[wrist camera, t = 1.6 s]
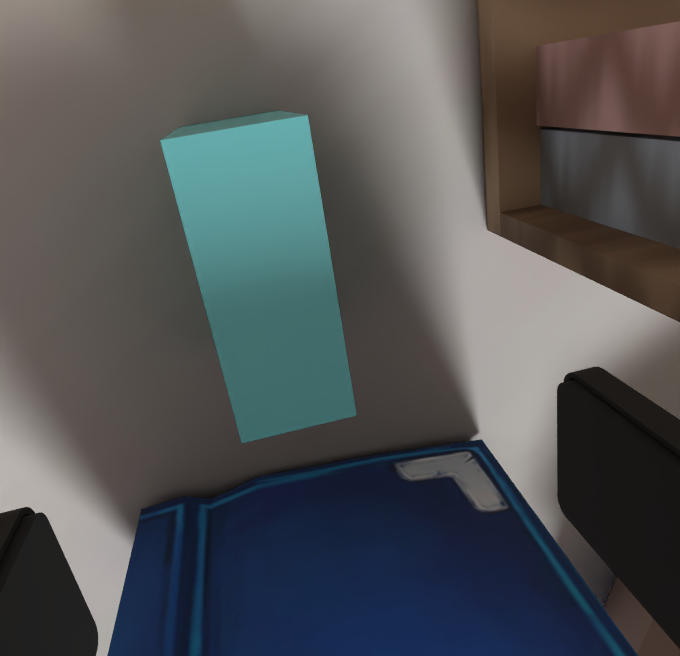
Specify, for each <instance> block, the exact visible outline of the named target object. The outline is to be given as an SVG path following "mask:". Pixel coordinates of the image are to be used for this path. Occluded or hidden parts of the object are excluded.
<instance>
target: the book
mask: <svg viewBox="0 0 680 656" xmlns="http://www.w3.org/2000/svg"><path fill="white" fill-rule="evenodd" d="M108 656H638V655H637V653H636V652H635V650H634V649H633V648H632V646H631V645H630V644H629V642H628V641H627V639H626V638H625V637H624V635H623V634H622V633H621V631H620V630H619V628H618V627H617V626H616V624H615V623H614V621H613V620H612V619H611V617H610V616H609V615H608V613H607V612H606V610H605V609H604V608H603V606H602V605H601V604H600V602H599V601H598V599H597V598H596V597H595V595H594V594H593V592H592V591H591V590H590V588H589V587H588V586H587V584H586V583H585V581H584V580H583V579H582V577H581V576H580V575H579V573H578V572H577V570H576V569H575V568H574V566H573V565H572V563H571V562H570V561H569V559H568V558H567V557H566V555H565V554H564V552H563V551H562V550H561V548H560V547H559V546H558V544H557V543H556V541H555V540H554V539H553V537H552V536H551V535H550V533H549V532H548V530H547V529H546V528H545V526H544V525H543V523H542V522H541V521H540V519H539V518H538V517H537V515H536V514H535V512H534V511H533V510H532V508H531V507H530V506H529V504H528V503H527V501H526V500H525V499H524V497H523V496H522V494H521V493H520V492H519V490H518V489H517V488H516V486H515V485H514V483H513V482H512V481H511V479H510V478H509V477H508V475H507V474H506V472H505V471H504V470H503V468H502V467H501V465H500V464H499V463H498V461H497V460H496V459H495V457H494V456H493V454H492V453H491V452H490V450H489V449H488V448H487V446H486V445H485V443H484V442H483V441H482V440H475V441H468V442H461V443H454V444H447V445H440V446H433V447H426V448H419V449H412V450H405V451H399V452H392V453H385V454H378V455H372V456H366V457H361V458H356V459H350V460H345V461H340V462H334V463H329V464H324V465H319V466H313V467H308V468H303V469H297V470H292V471H287V472H281V473H276V474H271V475H265V476H260V477H257V478H255V479H253V480H251V481H249V482H247V483H244V484H242V485H240V486H238V487H236V488H234V489H232V490H230V491H227V492H225V493H223V494H221V495H219V496H217V497H215V498H213V499H208V498H197V497H185V496H184V497H181V498H178V499H174V500H171V501H168V502H164V503H161V504H157V505H154V506H151V507H147V508H144V509H141V514H140V518H139V522H138V527H137V531H136V535H135V540H134V544H133V548H132V552H131V557H130V561H129V565H128V570H127V574H126V578H125V583H124V587H123V591H122V596H121V600H120V604H119V609H118V613H117V617H116V622H115V626H114V630H113V634H112V639H111V643H110V647H109V652H108Z"/></svg>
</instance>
